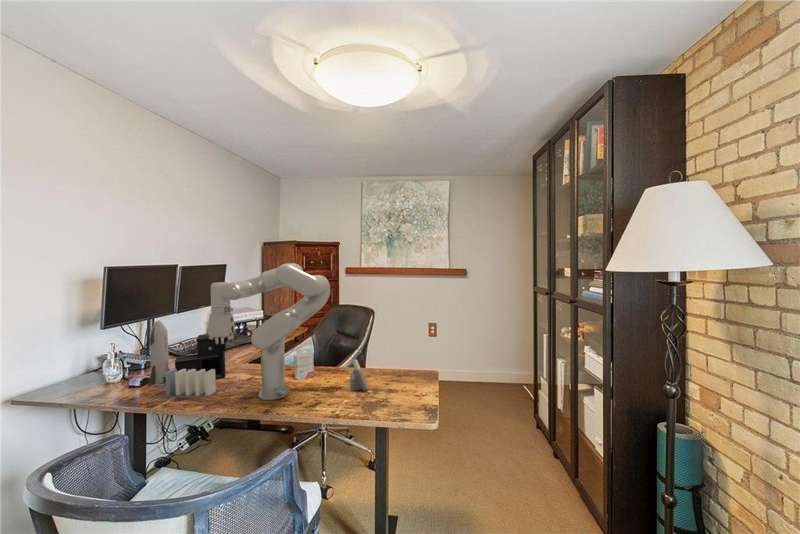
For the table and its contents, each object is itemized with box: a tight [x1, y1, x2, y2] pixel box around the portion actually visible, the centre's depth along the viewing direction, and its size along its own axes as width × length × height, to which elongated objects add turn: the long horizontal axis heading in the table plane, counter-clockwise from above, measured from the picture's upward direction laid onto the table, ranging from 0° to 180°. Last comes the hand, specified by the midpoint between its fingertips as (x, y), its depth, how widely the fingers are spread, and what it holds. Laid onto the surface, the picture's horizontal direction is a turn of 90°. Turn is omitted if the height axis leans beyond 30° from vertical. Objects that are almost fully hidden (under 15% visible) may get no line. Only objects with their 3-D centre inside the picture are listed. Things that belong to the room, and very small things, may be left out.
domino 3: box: [185, 369, 196, 395], centre depth 156 cm, size 2×5×10 cm, turn 176°
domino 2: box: [175, 369, 186, 395], centre depth 157 cm, size 2×5×10 cm, turn 176°
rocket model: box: [148, 320, 171, 387], centre depth 173 cm, size 14×7×30 cm, turn 177°
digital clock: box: [349, 359, 369, 392], centre depth 163 cm, size 16×9×11 cm, turn 1°
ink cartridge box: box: [293, 347, 315, 381], centre depth 177 cm, size 9×5×15 cm, turn 120°
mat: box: [157, 388, 223, 399], centre depth 157 cm, size 23×10×1 cm, turn 86°
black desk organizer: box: [174, 333, 227, 380], centre depth 176 cm, size 23×11×24 cm, turn 114°
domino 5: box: [205, 369, 217, 396], centre depth 156 cm, size 2×5×10 cm, turn 176°
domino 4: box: [195, 369, 206, 396], centre depth 156 cm, size 2×5×10 cm, turn 176°
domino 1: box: [165, 368, 177, 395], centre depth 157 cm, size 2×5×10 cm, turn 176°
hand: (221, 352), depth 155 cm, fingers closed
